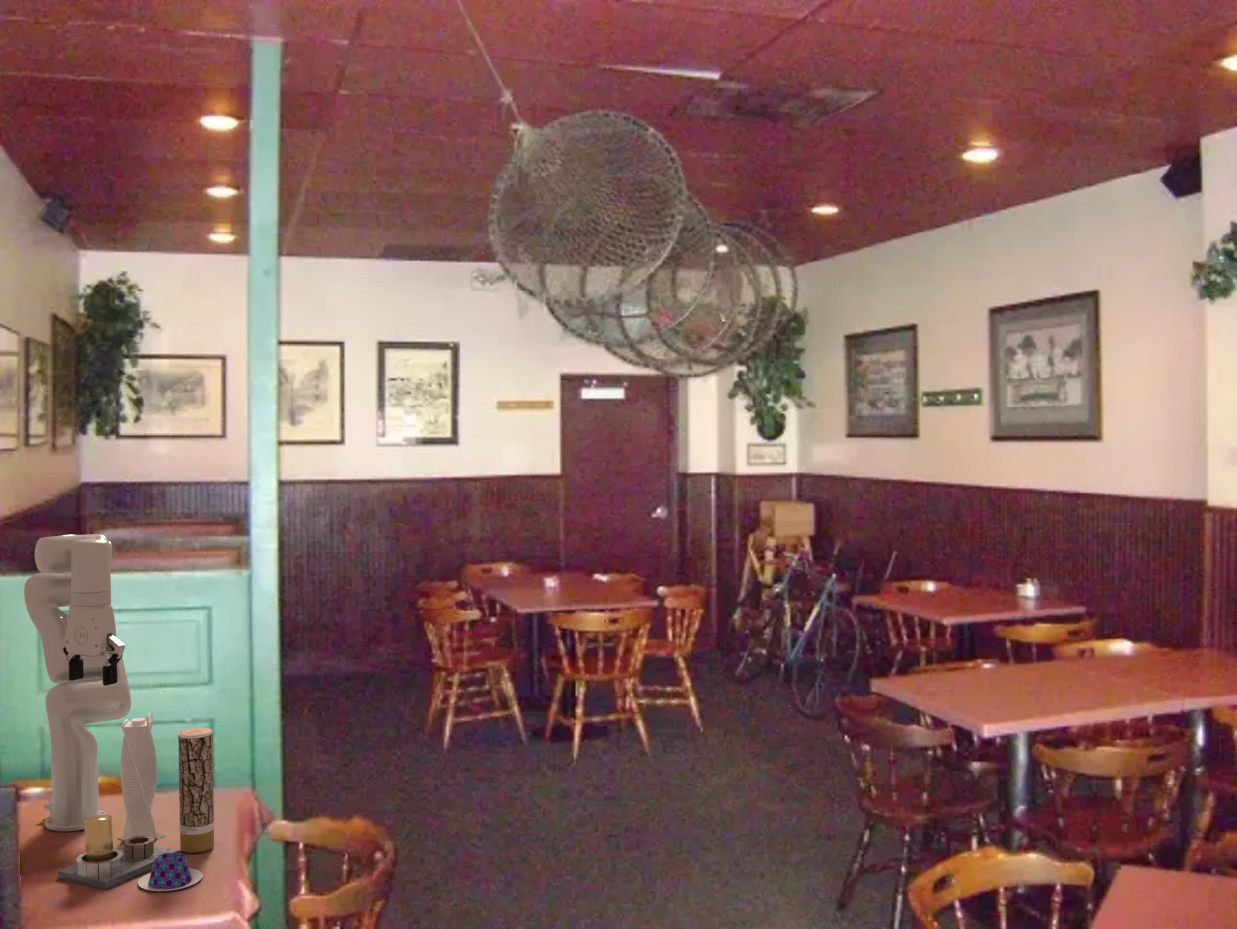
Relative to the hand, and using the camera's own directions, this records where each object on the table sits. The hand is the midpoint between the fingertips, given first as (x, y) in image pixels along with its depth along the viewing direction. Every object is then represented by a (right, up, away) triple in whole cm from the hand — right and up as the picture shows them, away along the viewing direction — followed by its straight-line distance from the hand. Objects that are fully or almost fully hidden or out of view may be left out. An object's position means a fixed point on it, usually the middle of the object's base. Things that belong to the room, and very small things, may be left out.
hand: (93, 681), depth 262 cm
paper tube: (+20, -36, +6) cm, 42 cm away
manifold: (+8, -37, -5) cm, 38 cm away
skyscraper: (+6, -36, +12) cm, 38 cm away
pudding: (+20, -38, -12) cm, 44 cm away
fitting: (+5, -35, -9) cm, 37 cm away
